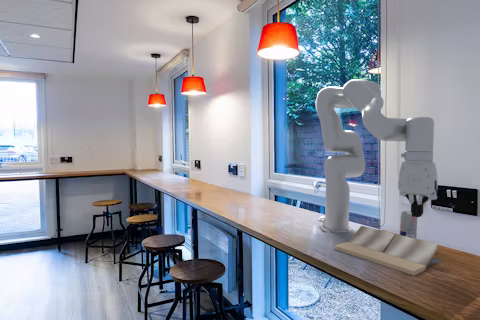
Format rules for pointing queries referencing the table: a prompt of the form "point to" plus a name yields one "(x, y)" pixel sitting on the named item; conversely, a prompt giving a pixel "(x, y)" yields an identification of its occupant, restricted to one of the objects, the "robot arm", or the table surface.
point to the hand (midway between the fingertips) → (416, 216)
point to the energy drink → (408, 225)
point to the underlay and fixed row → (384, 258)
